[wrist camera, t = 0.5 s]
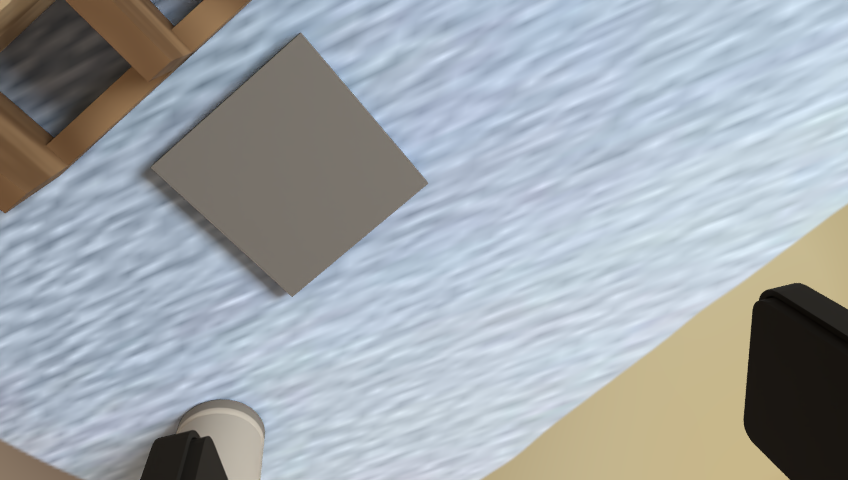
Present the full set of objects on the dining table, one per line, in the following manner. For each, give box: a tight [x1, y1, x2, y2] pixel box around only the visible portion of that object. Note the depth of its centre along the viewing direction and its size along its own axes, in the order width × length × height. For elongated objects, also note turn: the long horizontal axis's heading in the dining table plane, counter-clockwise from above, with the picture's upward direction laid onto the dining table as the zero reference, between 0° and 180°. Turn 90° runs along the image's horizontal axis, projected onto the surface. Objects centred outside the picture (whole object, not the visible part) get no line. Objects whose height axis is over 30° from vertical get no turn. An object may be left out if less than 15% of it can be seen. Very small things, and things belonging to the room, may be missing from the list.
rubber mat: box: [151, 33, 428, 297], centre depth 37 cm, size 12×12×1 cm
